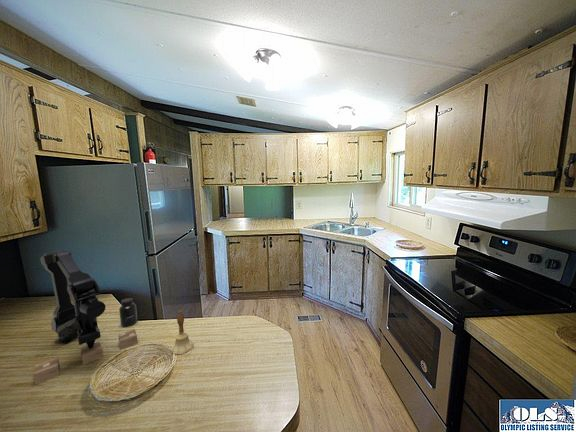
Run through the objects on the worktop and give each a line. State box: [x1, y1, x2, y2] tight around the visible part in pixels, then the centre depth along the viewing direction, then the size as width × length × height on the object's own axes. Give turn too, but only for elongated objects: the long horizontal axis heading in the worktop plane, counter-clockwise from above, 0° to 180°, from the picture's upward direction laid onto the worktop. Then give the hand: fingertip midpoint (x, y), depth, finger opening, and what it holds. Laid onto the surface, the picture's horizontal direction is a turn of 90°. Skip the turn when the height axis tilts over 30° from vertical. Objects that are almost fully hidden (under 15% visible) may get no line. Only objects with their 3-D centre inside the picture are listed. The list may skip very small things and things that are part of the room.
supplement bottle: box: [118, 297, 138, 328], centre depth 118 cm, size 7×7×12 cm
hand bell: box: [171, 309, 194, 355], centre depth 98 cm, size 8×8×16 cm
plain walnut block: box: [79, 341, 104, 366], centre depth 95 cm, size 6×6×4 cm
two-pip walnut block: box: [117, 328, 139, 350], centre depth 103 cm, size 6×6×4 cm
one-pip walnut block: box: [32, 356, 61, 385], centre depth 87 cm, size 6×6×4 cm
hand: (90, 347), depth 95 cm, fingers closed
